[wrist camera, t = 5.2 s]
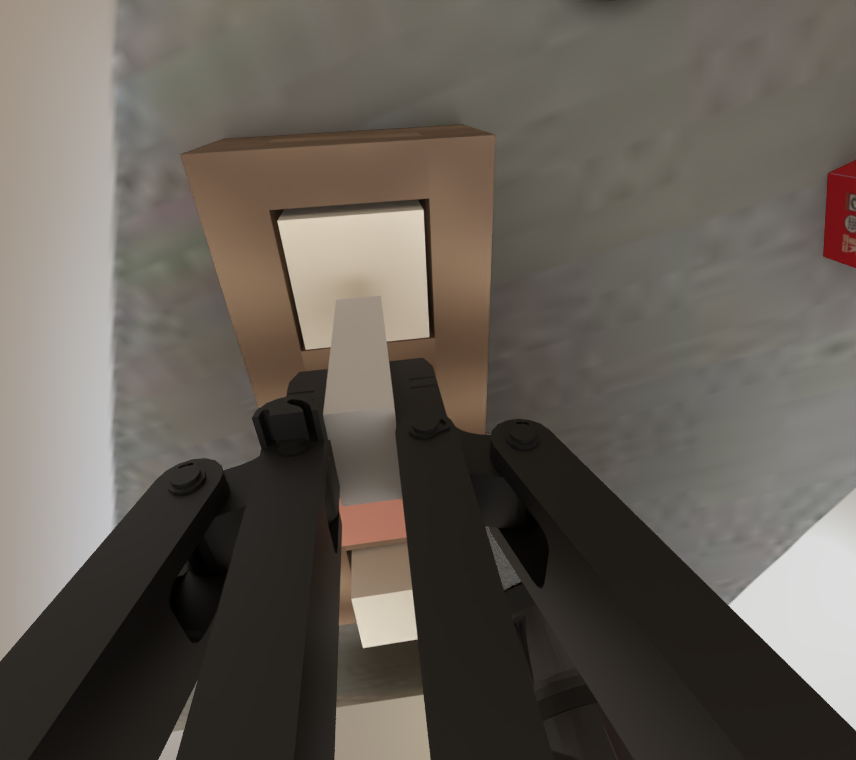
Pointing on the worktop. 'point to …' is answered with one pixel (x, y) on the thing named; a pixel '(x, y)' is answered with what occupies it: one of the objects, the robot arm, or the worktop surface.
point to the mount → (339, 185)
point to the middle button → (372, 522)
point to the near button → (357, 265)
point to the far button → (383, 595)
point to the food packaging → (841, 215)
